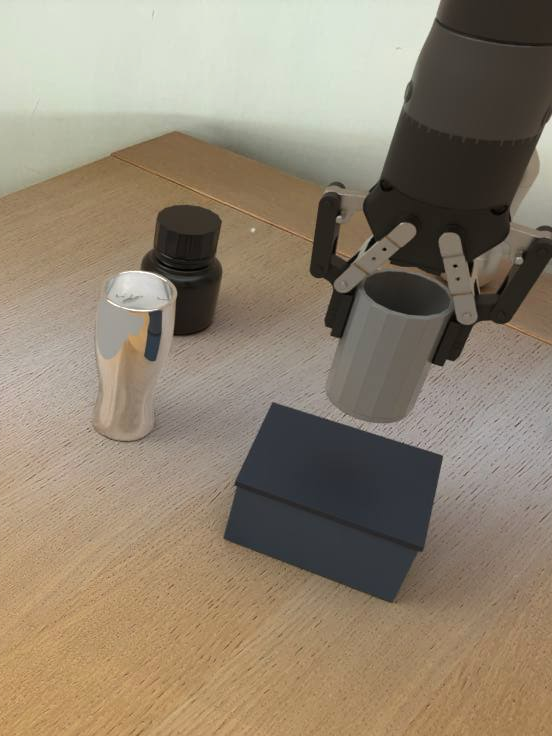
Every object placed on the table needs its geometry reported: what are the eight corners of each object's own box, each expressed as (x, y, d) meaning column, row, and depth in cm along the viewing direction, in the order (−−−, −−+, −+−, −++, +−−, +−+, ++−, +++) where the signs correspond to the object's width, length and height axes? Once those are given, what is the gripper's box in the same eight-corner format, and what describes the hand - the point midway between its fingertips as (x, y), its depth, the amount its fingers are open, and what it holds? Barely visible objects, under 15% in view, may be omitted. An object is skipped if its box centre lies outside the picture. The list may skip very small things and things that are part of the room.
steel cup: (418, 385, 62) (461, 282, 56) (405, 434, 58) (450, 328, 52) (334, 361, 64) (367, 260, 59) (316, 406, 60) (349, 302, 54)
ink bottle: (189, 286, 99) (204, 193, 92) (231, 325, 93) (252, 229, 86) (118, 303, 96) (128, 209, 89) (157, 344, 90) (171, 247, 83)
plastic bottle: (474, 301, 97) (546, 136, 84) (420, 278, 101) (481, 116, 88) (499, 282, 101) (572, 120, 88) (446, 260, 104) (508, 102, 92)
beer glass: (74, 408, 82) (84, 278, 72) (135, 390, 84) (153, 262, 75) (108, 452, 77) (123, 319, 68) (172, 433, 79) (195, 301, 70)
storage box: (415, 513, 72) (443, 455, 67) (394, 606, 64) (424, 547, 60) (256, 459, 77) (272, 401, 72) (220, 539, 69) (235, 480, 65)
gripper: (616, 111, 47) (502, 347, 58) (357, 69, 53) (297, 293, 63) (618, 158, 42) (493, 407, 53) (331, 107, 48) (270, 343, 58)
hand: (386, 344), depth 58 cm, fingers closed on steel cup, 6 cm apart
